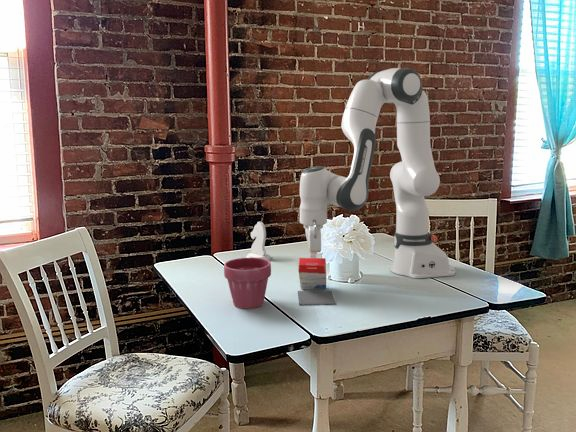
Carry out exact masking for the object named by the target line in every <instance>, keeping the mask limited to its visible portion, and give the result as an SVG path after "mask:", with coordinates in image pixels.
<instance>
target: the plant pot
mask: <svg viewBox="0 0 576 432" xmlns="http://www.w3.org/2000/svg"><path fill="white" fill-rule="evenodd" d="M271 275H272V265H271V260H269V261H268V260H266V259H262V258H246V257H239V258H233V259H230V260H228V261H226V262H225V263H224V265H223V276H224V278H225V279H226V280H227V283H228V287H229V291H230V295H231V299H232V303H233V305H234V306H235V307H237V308H241V309H256V308H259V307H261V306H263V304H264V303H265V297H266V293H267V292H266V290H267V285H268V280H269V278H270V277H271Z"/></svg>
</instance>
